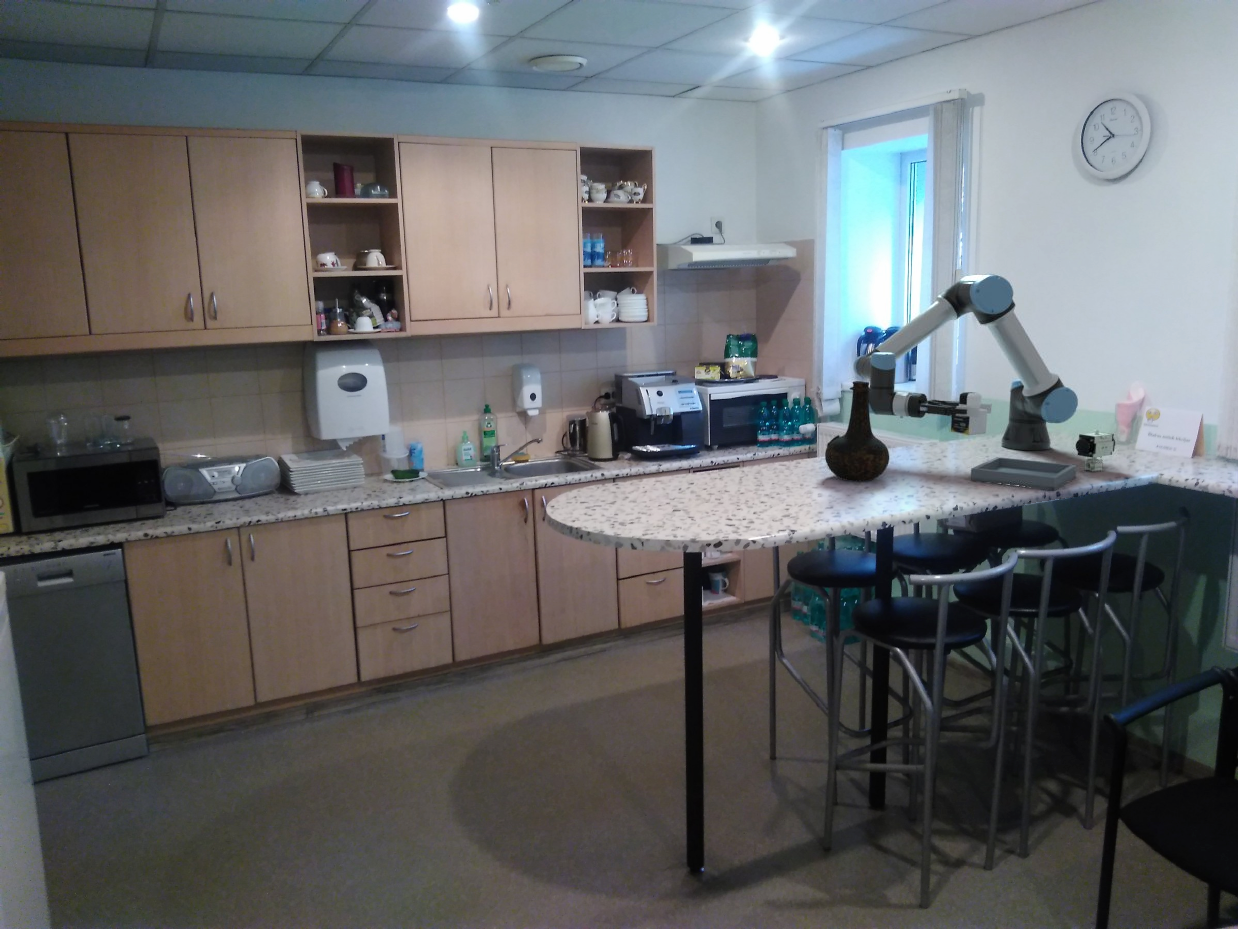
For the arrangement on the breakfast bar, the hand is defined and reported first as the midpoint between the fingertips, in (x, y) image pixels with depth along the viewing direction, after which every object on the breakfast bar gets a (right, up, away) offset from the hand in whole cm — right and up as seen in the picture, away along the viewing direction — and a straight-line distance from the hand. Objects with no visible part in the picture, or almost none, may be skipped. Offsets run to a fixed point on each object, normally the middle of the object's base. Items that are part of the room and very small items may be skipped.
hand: (985, 410), depth 268 cm
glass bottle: (-39, -20, -5) cm, 44 cm away
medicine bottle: (-3, -7, +4) cm, 8 cm away
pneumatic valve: (+33, -18, +1) cm, 37 cm away
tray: (+7, -20, -9) cm, 23 cm away
